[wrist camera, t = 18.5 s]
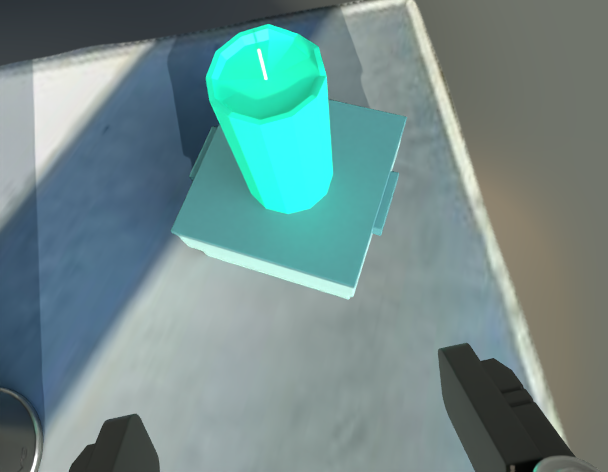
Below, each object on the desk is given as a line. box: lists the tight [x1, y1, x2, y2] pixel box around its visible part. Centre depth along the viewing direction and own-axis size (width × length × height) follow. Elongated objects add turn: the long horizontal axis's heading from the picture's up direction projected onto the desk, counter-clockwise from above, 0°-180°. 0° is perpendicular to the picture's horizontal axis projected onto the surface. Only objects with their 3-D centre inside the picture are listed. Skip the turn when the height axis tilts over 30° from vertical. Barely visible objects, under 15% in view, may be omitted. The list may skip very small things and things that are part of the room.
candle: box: [206, 24, 333, 214], centre depth 27 cm, size 6×6×12 cm
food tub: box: [171, 99, 407, 299], centre depth 36 cm, size 14×13×6 cm
